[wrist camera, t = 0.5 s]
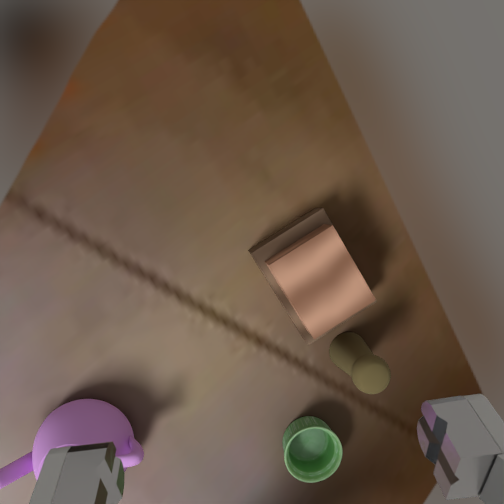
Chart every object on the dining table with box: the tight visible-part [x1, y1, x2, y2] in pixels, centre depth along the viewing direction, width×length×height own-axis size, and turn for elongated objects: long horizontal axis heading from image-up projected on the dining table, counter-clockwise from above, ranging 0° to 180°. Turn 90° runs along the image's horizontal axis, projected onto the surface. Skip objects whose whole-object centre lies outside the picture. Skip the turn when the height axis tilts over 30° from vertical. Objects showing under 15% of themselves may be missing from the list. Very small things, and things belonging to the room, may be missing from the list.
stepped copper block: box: [248, 208, 377, 345], centre depth 59 cm, size 16×12×8 cm
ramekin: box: [283, 416, 343, 483], centre depth 64 cm, size 9×9×4 cm
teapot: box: [0, 399, 144, 489], centre depth 57 cm, size 14×20×11 cm
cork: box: [329, 332, 391, 394], centre depth 59 cm, size 6×6×11 cm
